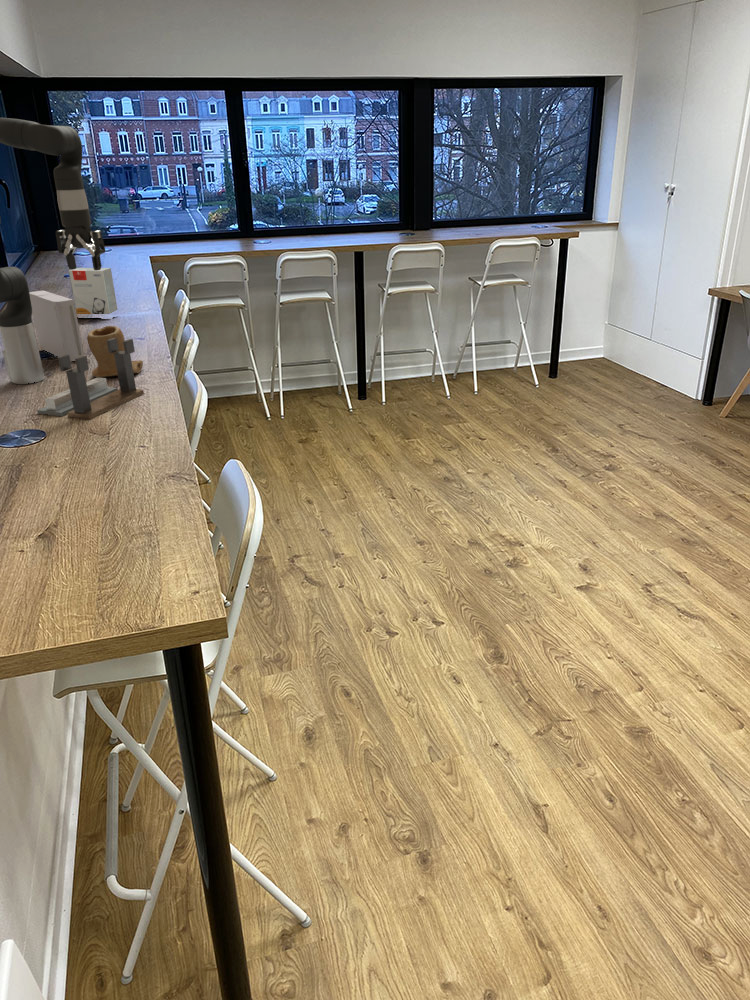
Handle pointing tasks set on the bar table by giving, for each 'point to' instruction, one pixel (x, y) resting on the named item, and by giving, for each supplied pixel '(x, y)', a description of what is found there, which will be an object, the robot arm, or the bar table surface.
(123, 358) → the cradle stand
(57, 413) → the rubber mat
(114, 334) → the clay boot vase
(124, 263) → the bar table surface
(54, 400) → the steel rail
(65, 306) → the game console
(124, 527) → the bar table surface
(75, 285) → the hard drive box
